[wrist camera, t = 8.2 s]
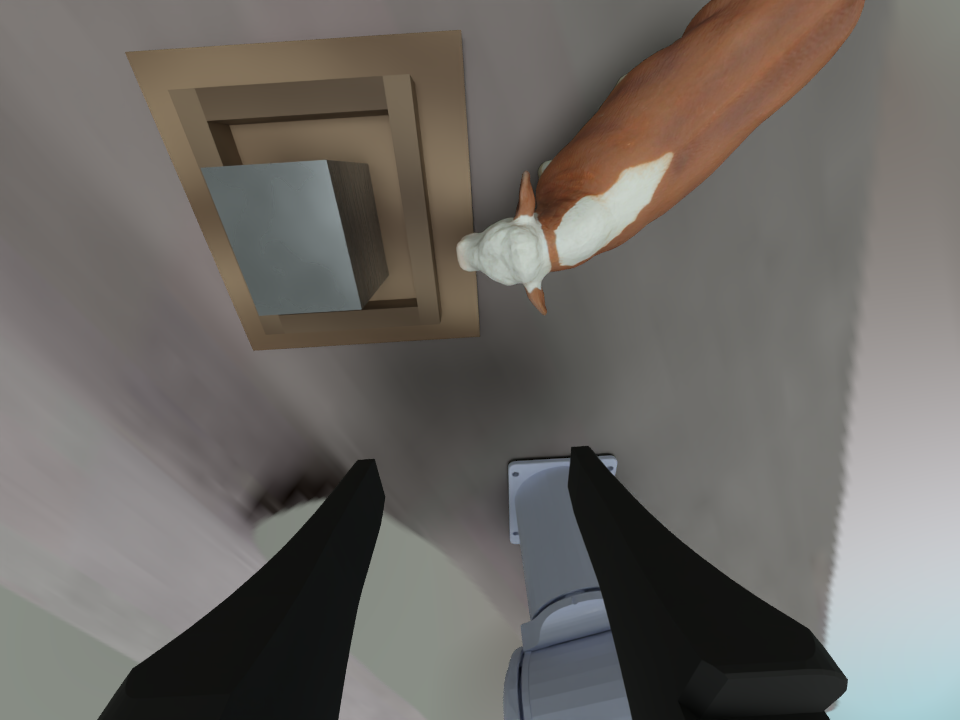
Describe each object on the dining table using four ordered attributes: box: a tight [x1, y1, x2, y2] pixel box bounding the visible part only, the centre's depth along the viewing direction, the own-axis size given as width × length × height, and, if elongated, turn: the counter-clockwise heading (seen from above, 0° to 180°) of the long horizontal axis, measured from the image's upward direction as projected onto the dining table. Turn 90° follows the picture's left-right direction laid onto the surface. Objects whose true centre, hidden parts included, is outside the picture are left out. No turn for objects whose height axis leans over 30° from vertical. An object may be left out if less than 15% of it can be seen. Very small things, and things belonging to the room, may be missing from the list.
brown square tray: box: [125, 30, 480, 351], centre depth 16 cm, size 13×13×2 cm
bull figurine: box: [456, 0, 865, 315], centre depth 12 cm, size 4×13×8 cm, turn 128°
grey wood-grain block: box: [201, 160, 389, 316], centre depth 14 cm, size 5×4×5 cm
